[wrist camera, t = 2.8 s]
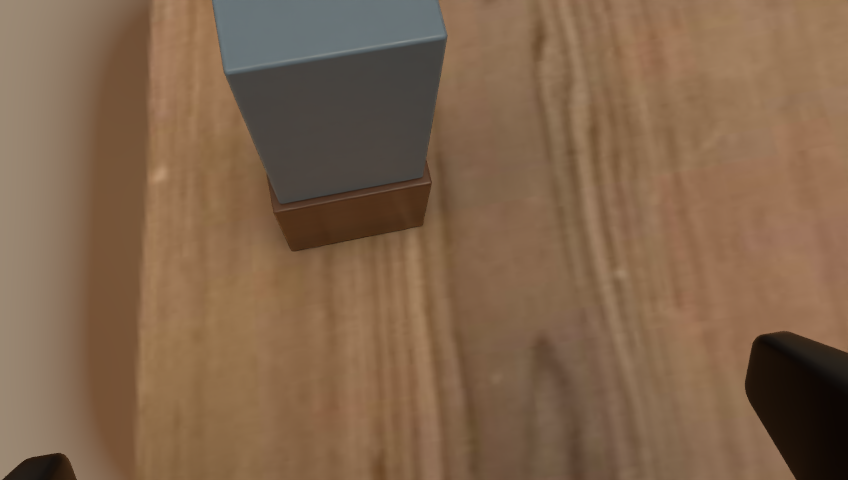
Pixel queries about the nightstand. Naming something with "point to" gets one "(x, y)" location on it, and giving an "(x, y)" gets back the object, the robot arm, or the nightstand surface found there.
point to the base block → (353, 213)
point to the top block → (334, 88)
